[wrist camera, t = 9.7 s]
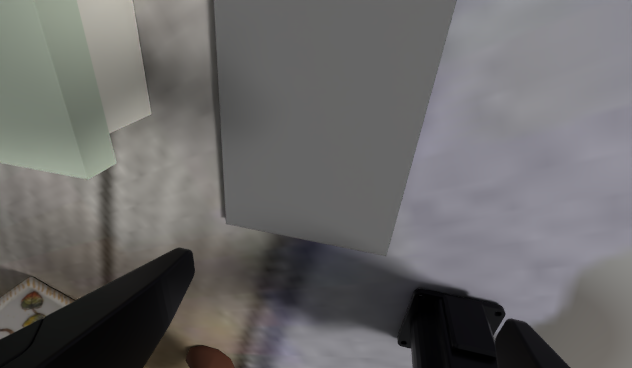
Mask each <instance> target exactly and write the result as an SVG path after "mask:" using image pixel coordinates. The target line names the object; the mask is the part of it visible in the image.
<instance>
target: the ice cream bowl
mask: <svg viewBox="0 0 632 368" xmlns="http://www.w3.org/2000/svg"><path fill="white" fill-rule="evenodd" d="M186 362H187V364H188V366H189V367H190V368H234V365H233V363H232V361H231V359H230V358H229V357H227V356H226V355H225V354H223V353H222V352H221V351H219V350H217V349H214V348H210V347H207V346H203V345H202V346H196V347H191V348H190V350H189V352H188V354H187V357H186Z"/></svg>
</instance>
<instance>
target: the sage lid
mask: <svg viewBox="0 0 632 368" xmlns="http://www.w3.org/2000/svg"><path fill="white" fill-rule="evenodd" d="M0 163H3V164H9V165H14V166H19V167H24V168H30V169H35V170H40V171H46V172H51V173H56V174H61V175H67V176H72V177H77V178H82V179H88V180H89V179H90V178H92V177H94V176H96V175H97V174H99V173H101V172H102V171H104V170H106V169H108V168H109V167H111V166H113V165H115V164H116V159H115V154H114V150H113V146H112V142H111V138H110V134H109V130H108V126H107V122H106V118H105V114H104V110H103V106H102V102H101V98H100V94H99V89H98V85H97V81H96V77H95V73H94V69H93V65H92V61H91V57H90V53H89V49H88V45H87V41H86V37H85V33H84V29H83V24H82V20H81V16H80V12H79V8H78V4H77V0H0Z"/></svg>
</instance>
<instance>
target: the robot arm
mask: <svg viewBox="0 0 632 368" xmlns="http://www.w3.org/2000/svg"><path fill="white" fill-rule="evenodd" d="M194 273H195V268H194V260H193V253H192V251H191V250H189V249H184V248H176V249H174V250H172V251H170V252H168V253H166V254H164V255H162V256H160V257H158V258H156V259H154V260H153V261H151V262H149V263H147V264H145V265H143V266H141V267H139V268H137V269H135V270H133V271H131V272H129V273H128V274H126V275H124V276H122V277H120V278H118V279H116V280H114V281H112V282H110V283H108V284H106V285H105V286H103V287H101V288H99V289H97V290H95V291H93V292H91V293H89V294H87V295H85V296H83V297H81V298H80V299H78V300H76V301H74V302H72V303H70V304H68V305H66V306H64V307H62V308H60V309H58V310H56V311H55V312H53V313H51V314H49V315H47V316H45V317H44V319H43V318H41V319H39V320H37V321H35V322H33V323H31V324H29V325H27V326H26V327H24V328H22V329H20V330H18V331H16V332H14V333H12V334H10V335H8V336H6V337H4V338H2V339H0V368H143V367H144V365H145V364H146V362H147V361H148V359H149V357H150V356H151V354H152V353H153V351H154V349H155V348H156V346H157V345H158V343H159V341H160V340H161V338H162V337H163V335H164V333H165V332H166V330H167V328H168V327H169V325H170V323H171V321H172V319H173V317H174V315H175V313H176V311H177V309H178V307H179V305H180V303H181V301H182V299H183V297H184V295H185V293H186V291H187V289H188V287H189V285H190V283H191V281H192V279H193V276H194ZM419 295H423V296H419ZM504 317H505V311H504V309H503V307H502V306H500V305H496V304H492V303H487V302H482V301H477V300H473V299H468V298H463V297H458V296H454V295H449V294H444V293H439V292H435V291H430V290H425V289H416V290H415V291H414V293H413V296H412V298H411V301H410V304H409V307H408V310H407V312H406V315H405V318H404V321H403V323H402V326H401V329H400V332H399V335H398V344H399V345H400V346H402V347H407V348H411V351H412V364H413V368H570V367H569V366H568V365H567V364H566V363H565V362H564V361H563V359H561V357H560V356H559V355H558V354H557V353H556V352H555V351H554V350H553V349H552V348H551V347H550V346H549V345H548V344H547V343H546V342H545V341H544V340H543V339H542V338H541V337H540V336H539V335H538V334H537V333H536V332H535V331H534V330H533V329H532V328H531V327H530V325H528V324H527V323H526V322H524V321H520V320H515V319H508V320H506V322H505V323H504V325H503V326H502V328H501V330H500V331H499V333H498V335H497V336H496V339H495V340H494V337H493V335H494V333H495V332H496V330H497V328H498V327H499V325H500V323H501V322H502V320H503V318H504Z"/></svg>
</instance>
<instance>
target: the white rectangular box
mask: <svg viewBox="0 0 632 368" xmlns="http://www.w3.org/2000/svg"><path fill="white" fill-rule="evenodd" d="M77 4H78V8H79V12H80V16H81V20H82V24H83V29H84V33H85V37H86V41H87V45H88V49H89V53H90V57H91V61H92V65H93V69H94V73H95V77H96V81H97V85H98V89H99V94H100V98H101V102H102V106H103V110H104V114H105V118H106V122H107V126H108V130H109V133H112V132H114V131H116V130H118V129H120V128H123V127H125V126H127V125H129V124H131V123H134V122H136V121H138V120H140V119H143V118H145V117H147V116H149V115H151V114H152V113H151V107H150V101H149V95H148V89H147V83H146V77H145V71H144V65H143V59H142V53H141V47H140V41H139V35H138V29H137V23H136V17H135V11H134V5H133V0H77Z"/></svg>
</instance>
